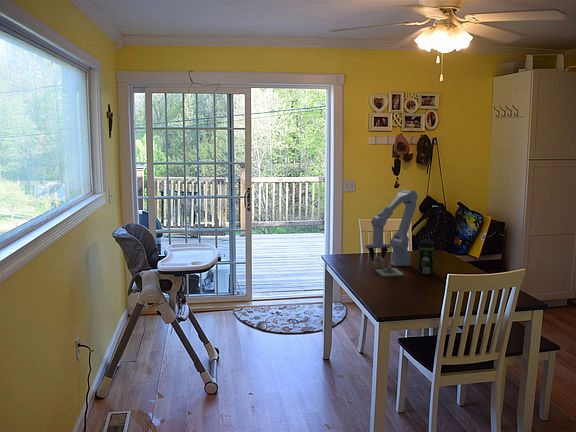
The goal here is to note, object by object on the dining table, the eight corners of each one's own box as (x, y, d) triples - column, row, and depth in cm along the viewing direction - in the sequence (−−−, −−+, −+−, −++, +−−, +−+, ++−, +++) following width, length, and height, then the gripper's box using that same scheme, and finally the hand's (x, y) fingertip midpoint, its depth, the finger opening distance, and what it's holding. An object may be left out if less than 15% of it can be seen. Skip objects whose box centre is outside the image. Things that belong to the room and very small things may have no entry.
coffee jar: (418, 270, 288) (420, 237, 286) (433, 271, 286) (435, 238, 283) (416, 274, 279) (418, 241, 277) (432, 275, 277) (433, 242, 274)
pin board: (395, 270, 288) (396, 261, 288) (403, 275, 277) (404, 266, 276) (375, 270, 287) (375, 262, 286) (382, 276, 275) (382, 267, 274)
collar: (380, 261, 295) (380, 256, 295) (383, 264, 290) (383, 258, 290) (371, 262, 295) (371, 257, 294) (374, 264, 290) (374, 259, 289)
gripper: (367, 239, 285) (367, 262, 287) (392, 238, 287) (392, 261, 289) (364, 236, 292) (363, 259, 294) (388, 235, 294) (387, 258, 296)
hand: (377, 260), depth 292 cm, fingers closed on collar, 5 cm apart
